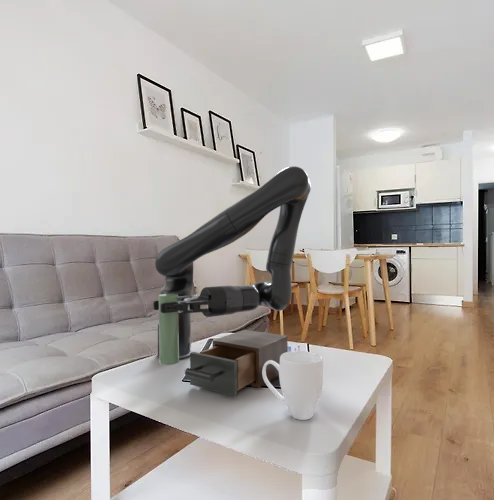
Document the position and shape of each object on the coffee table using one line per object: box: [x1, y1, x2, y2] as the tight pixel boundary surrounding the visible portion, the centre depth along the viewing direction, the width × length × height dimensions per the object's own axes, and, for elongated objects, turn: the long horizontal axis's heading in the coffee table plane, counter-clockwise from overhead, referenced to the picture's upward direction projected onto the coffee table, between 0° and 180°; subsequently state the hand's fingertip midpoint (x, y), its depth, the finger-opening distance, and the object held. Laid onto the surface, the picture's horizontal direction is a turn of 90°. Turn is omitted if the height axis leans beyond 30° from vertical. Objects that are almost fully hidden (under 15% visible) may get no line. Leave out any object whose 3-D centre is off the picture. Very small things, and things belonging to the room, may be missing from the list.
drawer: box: [184, 345, 256, 398], centre depth 85 cm, size 18×13×7 cm
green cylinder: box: [157, 294, 180, 366], centre depth 86 cm, size 5×5×16 cm
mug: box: [262, 350, 324, 421], centre depth 72 cm, size 12×8×11 cm
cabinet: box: [212, 329, 289, 389], centre depth 95 cm, size 15×14×9 cm
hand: (157, 306), depth 85 cm, fingers closed on green cylinder, 4 cm apart
